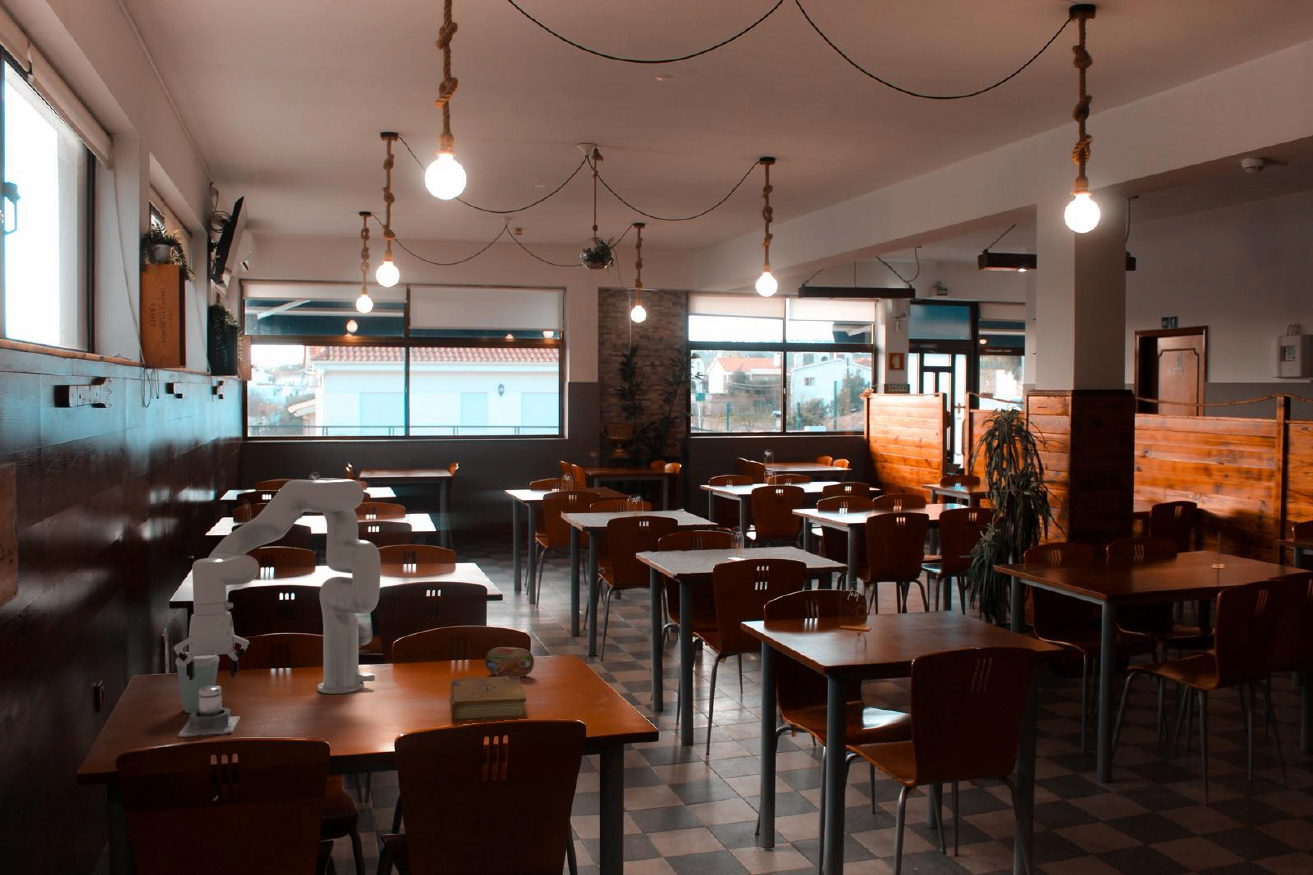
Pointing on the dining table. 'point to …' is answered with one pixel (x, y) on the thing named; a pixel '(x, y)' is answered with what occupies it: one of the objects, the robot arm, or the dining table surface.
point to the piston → (210, 701)
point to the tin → (509, 661)
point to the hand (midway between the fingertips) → (212, 677)
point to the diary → (487, 698)
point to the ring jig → (209, 724)
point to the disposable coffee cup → (196, 679)
